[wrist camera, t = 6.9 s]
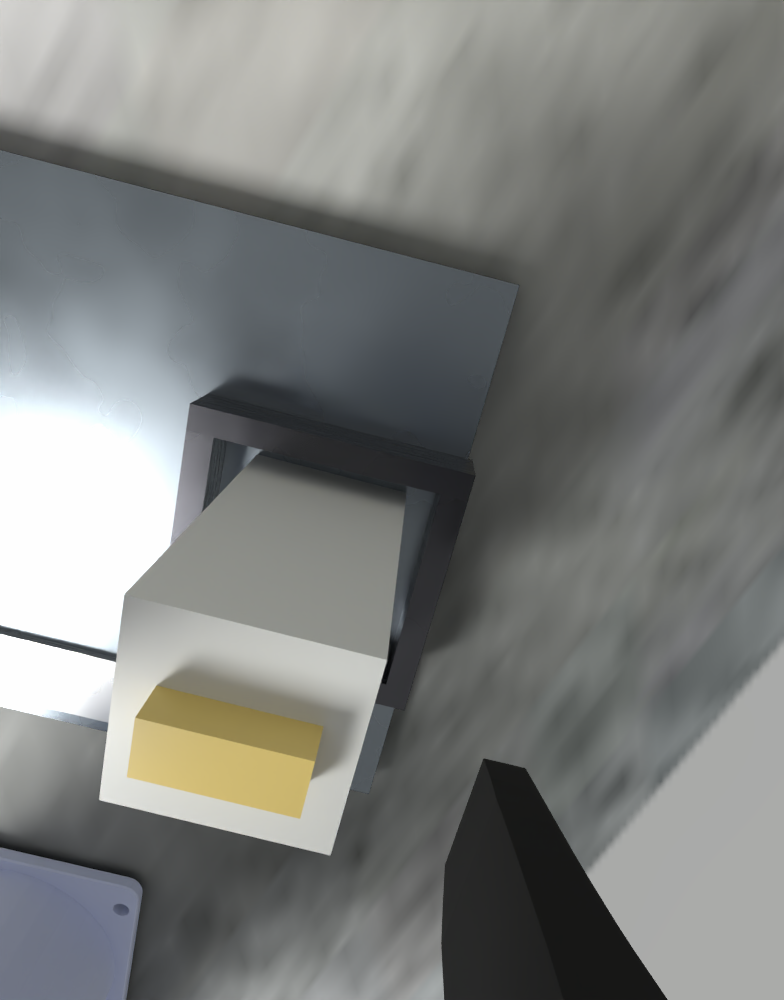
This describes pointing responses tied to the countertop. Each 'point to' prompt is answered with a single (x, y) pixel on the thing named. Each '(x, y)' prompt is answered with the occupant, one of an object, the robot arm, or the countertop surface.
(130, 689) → the white rectangular block
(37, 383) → the panel
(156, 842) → the countertop surface
